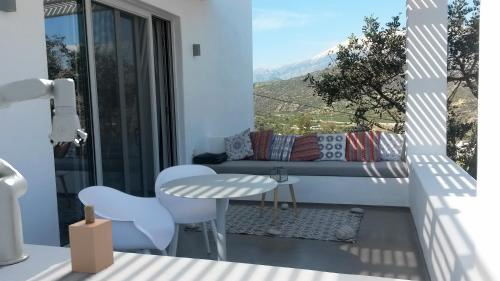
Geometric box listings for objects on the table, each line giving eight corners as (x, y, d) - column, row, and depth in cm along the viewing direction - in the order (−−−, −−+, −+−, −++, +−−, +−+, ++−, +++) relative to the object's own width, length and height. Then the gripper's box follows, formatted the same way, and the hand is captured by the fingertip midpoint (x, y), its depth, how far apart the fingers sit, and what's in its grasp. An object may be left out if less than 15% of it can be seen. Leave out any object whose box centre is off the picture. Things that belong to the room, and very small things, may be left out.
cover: (71, 271, 152) (67, 208, 151) (90, 261, 162) (86, 202, 160) (96, 273, 149) (91, 209, 147) (114, 263, 158) (110, 203, 157)
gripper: (39, 112, 165) (43, 157, 166) (77, 110, 160) (81, 157, 161) (54, 112, 172) (57, 155, 173) (91, 110, 167) (94, 155, 168)
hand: (68, 156), depth 167 cm, fingers open, 9 cm apart
